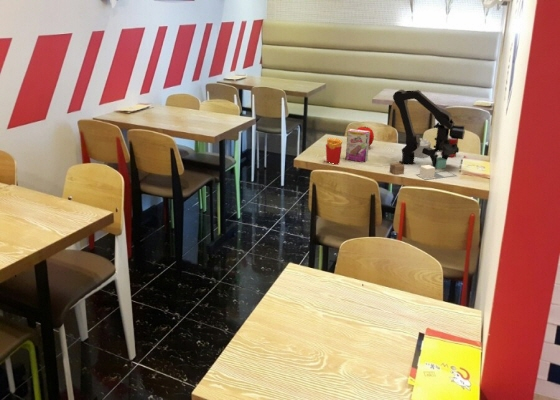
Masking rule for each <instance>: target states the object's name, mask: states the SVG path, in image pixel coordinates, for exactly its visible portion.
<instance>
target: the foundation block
mask: <svg viewBox="0 0 560 400" xmlns="http://www.w3.org/2000/svg"><path fill="white" fill-rule="evenodd" d="M435 172H436V168H435V167H433V166H432V164H425V165H420V169H419V174H420V176H422V177H423V178H425V179H427V178H434V174H435Z"/></svg>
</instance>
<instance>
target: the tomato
mask: <svg viewBox="0 0 560 400" xmlns="http://www.w3.org/2000/svg"><path fill="white" fill-rule="evenodd" d="M356 130H364V131H370V136H369V147H370V146H371V145H372V144H373V143H374V139H375V134H374V131H373V129H372V128H371V127H368V126H367V127H366V126H360V127H358V128H357V129H356Z"/></svg>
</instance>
